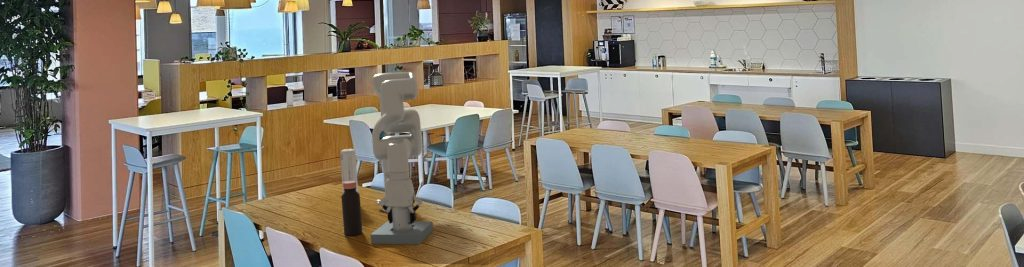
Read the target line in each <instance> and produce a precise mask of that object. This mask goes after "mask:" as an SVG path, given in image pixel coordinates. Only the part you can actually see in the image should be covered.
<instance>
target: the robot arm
mask: <svg viewBox="0 0 1024 267" xmlns="http://www.w3.org/2000/svg"><path fill="white" fill-rule="evenodd" d="M371 83H372V84H371V85H372V87H373V90H374V92H375V94H376V96H377V97H378V100H379V105H380V106H379V108H380V117H379V119H378V120H377V121H376V123H375V125H374V127H373V129H372V133H371V141H372V142H371V143H372V151H373V152H372V153H373V157H374V158H375V159H376V160H380V161H382V169H383V170H382V171H383V184H384V194H385V195H384V197H383V198H381V199H376V204H377V206H381V207H382V208H381V209H382V212H384V213H387V221H389V223H392V222H393V221H392V207H408V208H409V209H410V211H411V213H410V223H411V224H413V223H414V222H415V221H416V218H417V217H416V211H417V210H418V209H419V208H420V206H421V205H422V203H423V200H422V199H420V198H419V197H418V196H417V195H416V194H415V190H414V184H413V180H412V178H411V177H410V167H409V158H415V157H419V156H420V155H421V154H422V149H423V146H422V144H423V142H422V128H421V127H422V126H421V118H420V114H419V112H418V111H417V110H416V109H405V106H404V101H412V100H416V99H417V98H418V95H419V85H418V81H417V78H416V75H415V73H414V72H412V71H407V72H406V71H403V72H402V71H399V72H383V73H377V74H374V75H373V76H372V78H371ZM382 132H384V133H385V134H396V135H388V136H384V137H382V138H381V139H380V135H381V134H382ZM402 133H403V134H402ZM404 133H405V134H404ZM406 133H409V134H406ZM399 134H400V135H399ZM415 203H417V204H416V205H414V204H415Z"/></svg>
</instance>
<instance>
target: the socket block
mask: <svg viewBox="0 0 1024 267" xmlns="http://www.w3.org/2000/svg"><path fill="white" fill-rule="evenodd" d="M432 232H434V221H428V220H427V221H425V220H424V221H416V220H415V222H414V223H413V224H412V228H411V229H410V230H409V231H393V222H392V223H389V221H388V220H387V221H386V222H385V223H383V224H382V225H380V226H379V227H378V228H377V229H376V230H374V231H373V232H372V233H371V234H370V244H371V245H420V244H422V242H423V241H424V240H425V239H426V238H427V237H428V236H430V235H431V234H432Z"/></svg>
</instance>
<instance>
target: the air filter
mask: <svg viewBox="0 0 1024 267" xmlns="http://www.w3.org/2000/svg"><path fill="white" fill-rule="evenodd" d="M339 155H340V157H339V158H340V168H341V170H340V171H341V181H342V182H341V183H342V186H343V182H345V181H356V191H357V192H358V193H359V186H358V182H359V181H358V173H357V171H358V170H357V158H356V156H357V155H356V151H355V149H354V148H346V149H342V150H341V151H340V153H339ZM343 193H344V188H343V187H342V194H343Z"/></svg>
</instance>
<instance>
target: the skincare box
mask: <svg viewBox="0 0 1024 267" xmlns="http://www.w3.org/2000/svg"><path fill="white" fill-rule="evenodd" d="M410 213H411V211H410V209H409V208H408V207H392V221H393V231H409V230H410V229H411V228H412V224H411V223H410Z"/></svg>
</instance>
